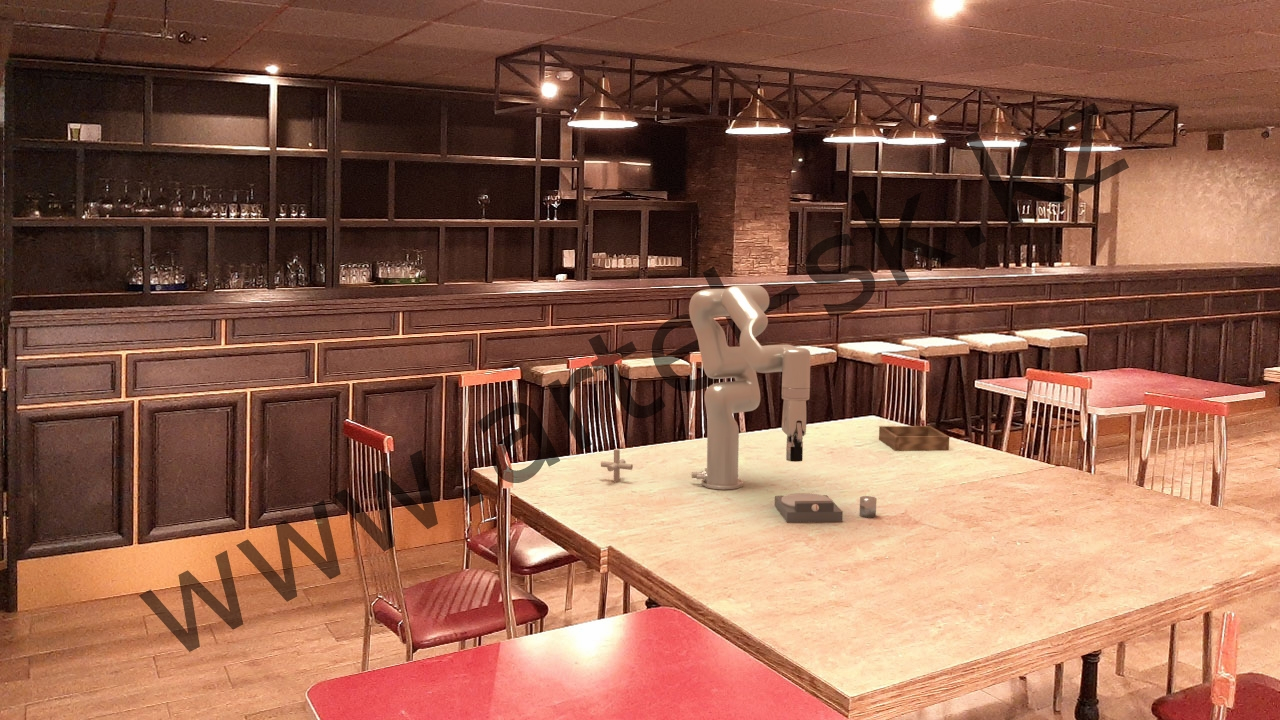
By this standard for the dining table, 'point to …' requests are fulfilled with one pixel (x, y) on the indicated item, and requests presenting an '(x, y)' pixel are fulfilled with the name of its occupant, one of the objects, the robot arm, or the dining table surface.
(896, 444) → the brown wooden tray
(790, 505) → the scale
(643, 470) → the dining table surface
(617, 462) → the pipe connector
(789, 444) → the cylinder
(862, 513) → the cylinder
